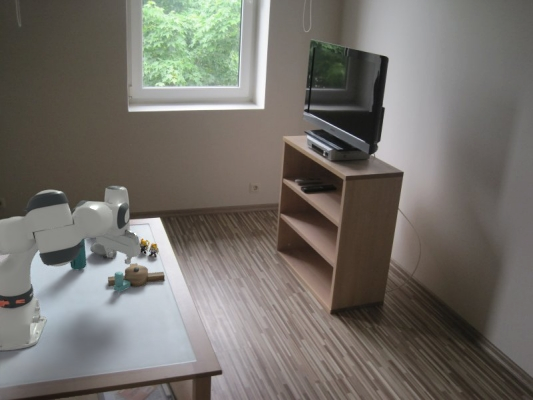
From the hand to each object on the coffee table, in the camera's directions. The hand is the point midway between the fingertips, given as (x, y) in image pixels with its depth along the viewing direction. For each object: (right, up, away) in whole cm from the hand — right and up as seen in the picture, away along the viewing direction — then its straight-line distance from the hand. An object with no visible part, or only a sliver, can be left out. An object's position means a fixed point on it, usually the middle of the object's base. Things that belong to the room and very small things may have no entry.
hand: (118, 259), depth 220 cm
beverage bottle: (-22, -6, +19) cm, 29 cm away
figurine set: (+1, -1, +37) cm, 37 cm away
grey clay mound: (-15, -2, +33) cm, 36 cm away
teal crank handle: (0, -12, +6) cm, 13 cm away
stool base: (+3, -9, +15) cm, 18 cm away
